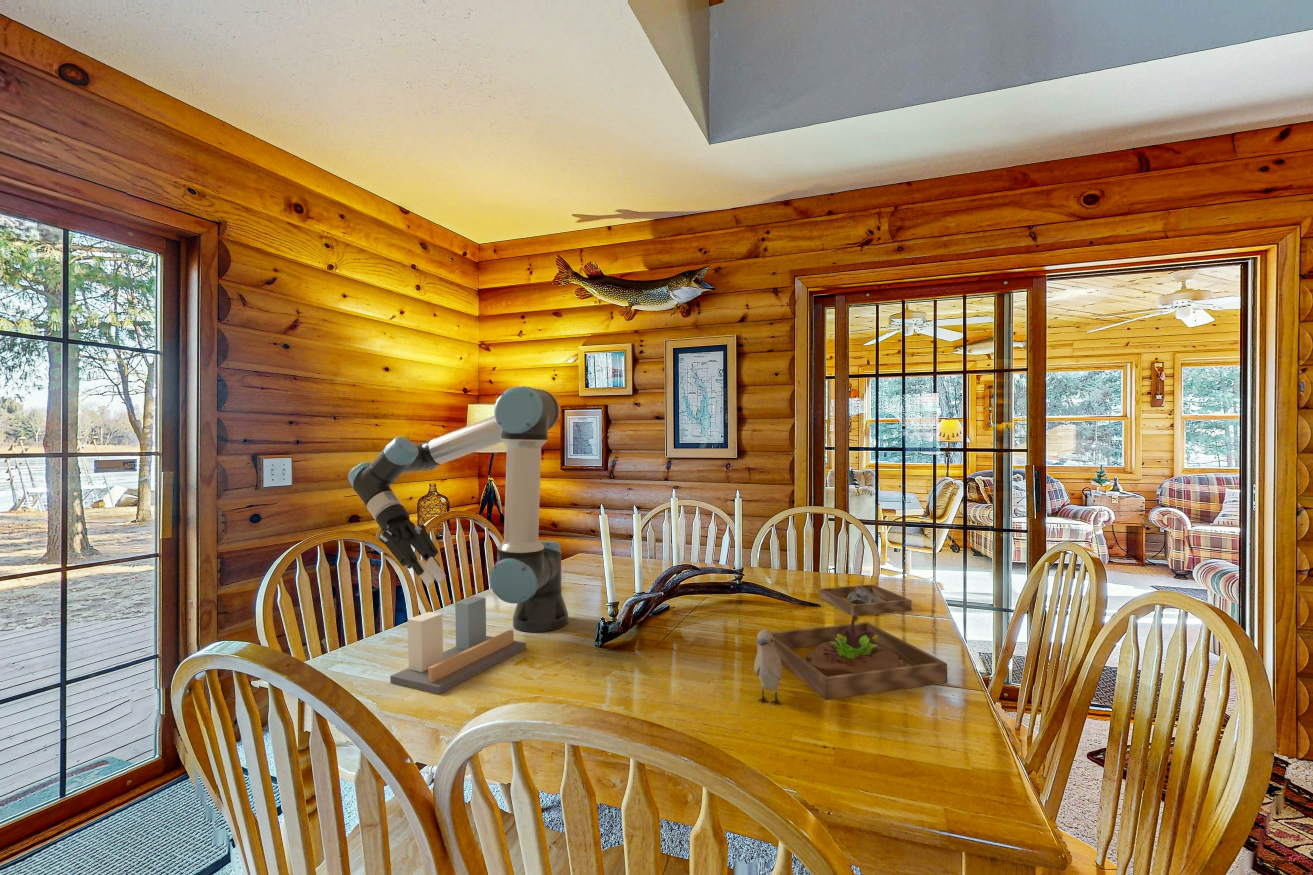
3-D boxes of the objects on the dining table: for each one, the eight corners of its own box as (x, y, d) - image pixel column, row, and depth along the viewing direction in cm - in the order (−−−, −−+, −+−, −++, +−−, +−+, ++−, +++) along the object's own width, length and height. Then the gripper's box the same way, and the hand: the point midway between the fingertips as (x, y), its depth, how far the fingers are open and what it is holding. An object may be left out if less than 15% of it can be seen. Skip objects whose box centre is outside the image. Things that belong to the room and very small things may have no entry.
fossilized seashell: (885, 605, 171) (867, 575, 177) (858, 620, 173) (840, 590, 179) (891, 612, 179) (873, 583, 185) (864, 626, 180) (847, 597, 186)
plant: (910, 660, 136) (909, 612, 136) (892, 693, 119) (892, 637, 119) (823, 645, 146) (822, 600, 146) (796, 673, 130) (795, 621, 130)
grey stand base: (390, 682, 127) (390, 661, 127) (482, 640, 152) (481, 623, 152) (439, 694, 121) (438, 672, 121) (526, 648, 146) (525, 630, 146)
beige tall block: (408, 669, 130) (407, 619, 130) (430, 659, 136) (429, 611, 135) (422, 672, 128) (421, 621, 128) (443, 662, 134) (442, 613, 134)
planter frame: (867, 637, 150) (867, 622, 150) (947, 682, 123) (947, 663, 123) (764, 649, 143) (764, 632, 143) (825, 699, 116) (825, 679, 116)
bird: (748, 715, 110) (747, 634, 110) (763, 686, 122) (762, 613, 122) (775, 720, 108) (774, 637, 108) (787, 689, 121) (786, 616, 120)
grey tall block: (456, 648, 143) (455, 602, 143) (473, 640, 148) (473, 596, 148) (468, 650, 141) (467, 604, 141) (486, 642, 146) (485, 597, 146)
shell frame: (872, 593, 191) (872, 584, 191) (911, 610, 172) (911, 600, 172) (818, 598, 186) (818, 588, 186) (853, 616, 168) (853, 605, 167)
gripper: (406, 517, 165) (452, 583, 158) (355, 526, 150) (403, 598, 143) (420, 499, 162) (467, 565, 155) (369, 506, 148) (418, 578, 141)
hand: (436, 581), depth 149 cm, fingers open, 3 cm apart
